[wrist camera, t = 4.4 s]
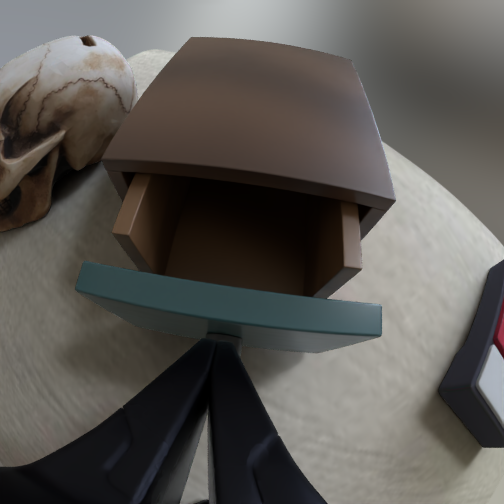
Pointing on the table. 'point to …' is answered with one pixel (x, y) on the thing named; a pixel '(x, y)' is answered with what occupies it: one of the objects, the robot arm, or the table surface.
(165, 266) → the drawer
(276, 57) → the cabinet
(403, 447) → the table surface
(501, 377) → the calculator
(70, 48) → the coin bank
